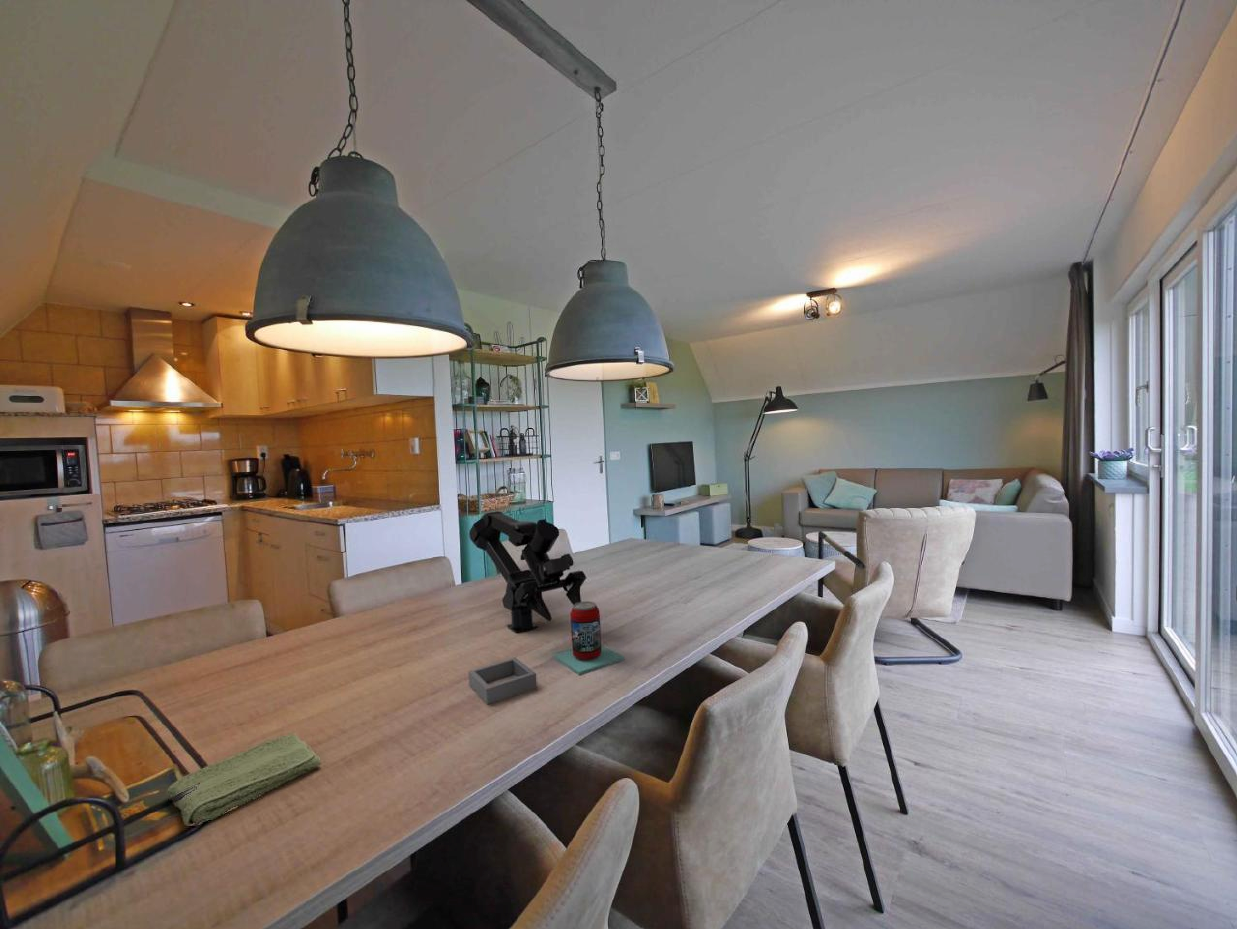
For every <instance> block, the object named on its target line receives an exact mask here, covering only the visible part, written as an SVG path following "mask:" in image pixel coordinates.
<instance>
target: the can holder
mask: <svg viewBox="0 0 1237 929" xmlns="http://www.w3.org/2000/svg"><path fill="white" fill-rule="evenodd" d="M467 672H468V684H469V687H471V689H472V690H473V691H474V692H475V693H476V694H477V695H478V696H479V697H480V698H481V699H482V700H483V701H484V703H485V704H486V705H489V704H492V703H495V702H498V701H501V700H504V699H507V698H510V697H513V696H517V695H519V694H522V693H525V692H527V691H530V690H533V689H537V688H538V687H537V686H538V684H537V673H536V672H535V671H533V670H532V669H531V668H530V667H528V666H527V665H526V664H525V663H523V662H522V661H520V660H519V659H518V658H517V657H512V658H508V659H505V660H502V661H498V662H495V663H491V664H488V665H485V666H481V667H478V668H476V669H475V668H474V669H471V670H468V671H467ZM513 674H514V676H516V677H512V678H510V679H507V680H504V681H501V682H500V681H499V682H498V683H495V684H491V685H489V684H488V683H487V682H490V681H493V680H497V679H500V678H504V677H508V676H509V675H513Z"/></svg>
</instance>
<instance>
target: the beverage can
mask: <svg viewBox="0 0 1237 929" xmlns="http://www.w3.org/2000/svg"><path fill="white" fill-rule="evenodd" d="M600 612H601V611H600V610H599V607H598V606H597V604H596V602H594V601H581V602H578V603H576V604H574V605H573V604H572V609H571V611H570V628H571V630H570V632H571V645H572V646H571V647H572V648H571V649H573V655H574V656H575V657H577V658H578V659H580V660H591V659H594V658H596V657H597V656H599V655H600V654H601V652H602V649H601V645H602V633H601V631H602V630H601V617H600V616H601V615H600V614H601V613H600Z"/></svg>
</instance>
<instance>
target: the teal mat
mask: <svg viewBox="0 0 1237 929" xmlns="http://www.w3.org/2000/svg"><path fill="white" fill-rule="evenodd" d="M601 649H602V652H601V654H600V655H599V656H597V657H596V658H594V659H591V660H580V659H578V658H577V657H575V656H574V655H573V648H571V649H569V650H566V651H562V652H559V653H555V654H553V655H552V658H553V659H554V660H556V661H558V662H559V663H560V664H562V665H564V666H565V667H567V668H569V670H571V671H572V672H574V673H576V674H577V675H578V676H581V675H583V674H586V673H588V672H589V673H590V672H591V671H594V670H597V669H601V668H603V667H606V666H609V665H613V664H615V663H618V662H621V661H624V660H625V656H624V655H621V654H619V653H618V652H616V651H614V650H613V649H610V648H609V647H607V646H605V645H603V644H601Z"/></svg>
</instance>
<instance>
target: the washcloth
mask: <svg viewBox="0 0 1237 929" xmlns="http://www.w3.org/2000/svg"><path fill="white" fill-rule="evenodd" d="M321 765H322V760H321V758H320V757H319V756H318V755H317V754H316V753H315V751H314V750H313V749H312V747H311V746H309V745H308V744H307V742H306V741H304V740H301V739H300V738H299V736H298V734H297V733H294V734H293V733H289V734H284V735H282V736H280V737H276V738H272V739H268V740H266V741H264V742H261V743H260V744H257V745H254V747H253V746H252V747H251V748H248V749H246V750H244V751H242V750H241V752H239V753H236V754H234V755H233V756H231V757H228V758H227V759H223V760H222V761H219V762H215V763H212V764H209V765H206V766H205V767H203V768H201V769H198V770H195V771H194V772H191V773H188V774H185V775H184V776H182V777H181V779H179V780H176V781H175V782H173V783H172V784H171V785H170V786H168V788H167V790H166V796H167V797H168V798H169V797H170V798H171V797H173V796H175V795H177V794H179V793H181V792H184V791H186V790H188V789H190V788H192V787H194V786H197V789H195V790H194V791H192V792H191V793H189V794H187V795H185V796H184V797H183V798H182V799H181V800H179V801H177V802H176V803H174V802H173V805H174V807H175V808H177V807H179V808H180V809H179V810H181V817H182V821H183V824H184V826H187V827H188V826H190V825H191V824H193V823H196V822H197V821H200V820H202V819H206V821H208V820H211V821H213V820H215V819H216V818H218V816H219V817H220V815H221V816H223V815H224V814H223V813H225V812H227V811H228V810H230V809H231V808H233V807H236V806H239V807H241V806H242V805H241V804H243V805H245V804H244V803H246V802H247V801H249V800H252V799H253V798H256V797H257V796H259V795H261V796H263V795H264V793H265V792H267V793H269V792H271V791H272V790H274V789H276V788H279V787H280V786H281V785H282V786H283V785H284V784H286V783H288V782H291V781H293V779H296V778H297V777H299V776H301V775H304V774H307V773H309V772H312V771H313V770H314V769H317V768H318V767H319V766H321ZM285 782H286V783H285ZM198 783H200V784H199V785H198ZM273 788H274V789H273ZM271 789H272V790H271ZM270 790H271V791H270ZM268 791H269V792H268ZM262 794H263V795H262ZM265 794H266V793H265ZM259 797H260V796H259ZM170 798H169V799H170ZM256 799H257V798H256ZM252 801H253V800H252ZM246 804H247V803H246ZM240 805H241V806H240ZM222 814H223V815H222ZM208 822H209V821H208Z"/></svg>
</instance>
